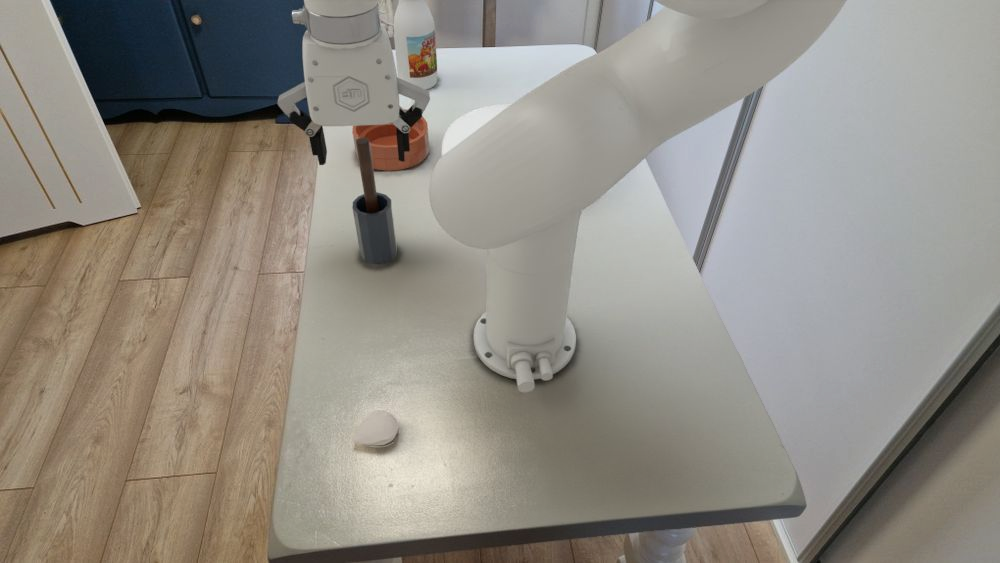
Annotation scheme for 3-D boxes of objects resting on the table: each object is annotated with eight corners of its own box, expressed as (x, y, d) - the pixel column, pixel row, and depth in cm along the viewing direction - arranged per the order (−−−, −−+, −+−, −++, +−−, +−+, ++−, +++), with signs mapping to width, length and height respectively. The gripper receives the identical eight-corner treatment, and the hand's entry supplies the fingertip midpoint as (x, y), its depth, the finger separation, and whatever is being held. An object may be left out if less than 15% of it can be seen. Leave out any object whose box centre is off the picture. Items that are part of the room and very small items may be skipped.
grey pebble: (405, 442, 71) (403, 429, 69) (361, 463, 69) (358, 450, 67) (389, 413, 73) (387, 400, 72) (347, 432, 71) (343, 419, 70)
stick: (384, 255, 92) (369, 143, 79) (373, 256, 92) (355, 144, 79) (384, 248, 93) (369, 136, 80) (373, 248, 93) (356, 137, 80)
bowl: (430, 171, 108) (429, 145, 104) (355, 175, 106) (350, 149, 103) (427, 132, 116) (426, 106, 113) (357, 135, 115) (354, 110, 112)
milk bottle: (395, 91, 127) (384, -16, 113) (401, 72, 133) (391, -32, 119) (435, 92, 127) (429, -15, 113) (439, 73, 132) (434, -31, 119)
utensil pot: (397, 265, 91) (391, 214, 85) (360, 268, 90) (351, 216, 84) (397, 242, 95) (391, 191, 88) (362, 244, 94) (353, 193, 88)
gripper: (254, 37, 66) (288, 178, 78) (427, 33, 68) (434, 171, 80) (264, 7, 71) (294, 143, 83) (424, 5, 73) (431, 138, 85)
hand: (362, 157), depth 82 cm, fingers open, 9 cm apart
